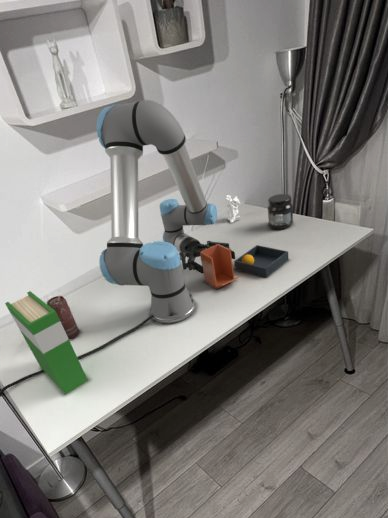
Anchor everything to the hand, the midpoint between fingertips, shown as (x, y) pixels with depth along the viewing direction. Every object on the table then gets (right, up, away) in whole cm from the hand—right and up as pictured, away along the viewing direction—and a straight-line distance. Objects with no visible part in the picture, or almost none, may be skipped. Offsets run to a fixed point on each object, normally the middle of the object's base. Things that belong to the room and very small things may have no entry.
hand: (218, 262), depth 141 cm
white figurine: (+10, +31, +49) cm, 59 cm away
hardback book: (-47, -38, -21) cm, 64 cm away
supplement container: (+29, +24, +35) cm, 51 cm away
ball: (+11, +3, +9) cm, 15 cm away
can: (-50, -26, -5) cm, 56 cm away
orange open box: (+2, -6, +5) cm, 8 cm away
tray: (+17, +1, +10) cm, 20 cm away
